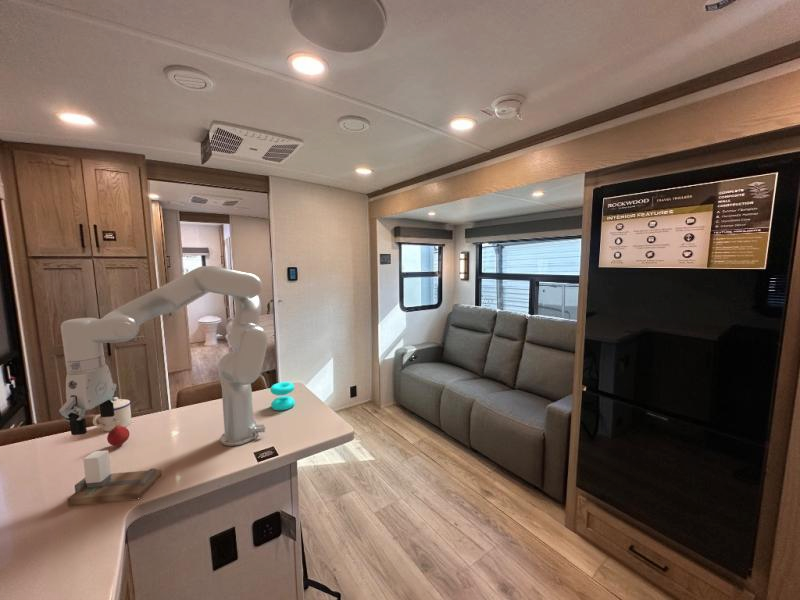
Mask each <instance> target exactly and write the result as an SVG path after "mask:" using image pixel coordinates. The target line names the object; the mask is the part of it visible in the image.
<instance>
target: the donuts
mask: <svg viewBox="0 0 800 600" xmlns="http://www.w3.org/2000/svg"><path fill="white" fill-rule="evenodd" d="M294 390H295V384H294V383H292V382H290V381H282V382H278V383H275V384H272V385H271V387H270V390H269V392H270V393H271V394H272V395H275V396H278V397H276V398H275V399H274V400H273V401H272V402H271V403H270V404H271V405H270V406H271V408H272V409H273V410H275V411H285V410H289V409H291V408H293V407H294V406H295V404H296V401H295V399H294V397H292V396H287V395H288V394H291V393H292V392H293V391H294Z"/></svg>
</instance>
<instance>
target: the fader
mask: <svg viewBox="0 0 800 600" xmlns="http://www.w3.org/2000/svg"><path fill="white" fill-rule="evenodd" d="M82 459H83V461H82V462H83V466H84V467H83V468H84V478H86V483H87V488H91V487H102V486H104V485H106V484H107V483H108V482H109V481H110V480H111V475H110V474H112V472H111V464H110V463H111V462H110V454H109V449H108V450H97V451H96V450H95V451H92V452H91V453H90V454H88V455H87V456H85V457H84V458H82Z"/></svg>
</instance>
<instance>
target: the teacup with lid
mask: <svg viewBox="0 0 800 600" xmlns="http://www.w3.org/2000/svg"><path fill="white" fill-rule="evenodd" d="M112 403H113V406H114V414H115V415H114V416H113V417H101V413H99V414H96V415H95V416H94V417H93V418H92V424H93V426H94V427H97V428H102V431H104V432H110V431H111V430H112V429H113V428H114V427H115V426H116V425H117V424H120V426H122V427H125V428H127V427H129V426H130V425H131V424H132V414H131V413H132V412H131V404H132V403H131V401H130V400H129V399H123V398H119V397H118V396H114V402H112ZM99 418H101V424H98V422H97V419H99ZM129 419H130V420H129ZM118 421H119V422H118ZM128 425H129V426H128ZM126 426H127V427H126Z"/></svg>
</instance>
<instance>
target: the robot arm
mask: <svg viewBox="0 0 800 600" xmlns="http://www.w3.org/2000/svg"><path fill="white" fill-rule="evenodd" d="M262 289H263V283H262V280H261V279H260V277H258V276H257V275H256V274H254V273H251V272H244V271H239V270H234V269H229V268H224V267H220V266H215V265H202V266H199V267H196V268H193V269H191V270H190V271H188V272H187V273H184V274H183V275H181V276H179V277H177V278H176V279H173V280H171V281H169V282H168V283H165V284H164V285H162V286H160V287H158V288H156V289H153V290H151V291H149V292H147V293H146V294H144V295H142V296H139V297H137V298H135V299H133V300H131V301H128V302H127V303H125V304H123V305H121V306H119V307H118V308H115V309H113V310H112V311H110V312H108V313H107V314H105V315H104V316H102V318H96V317H79V318H73V319H68V320H67V319H66V320H65V321H62V323H61V324H60V331H61V332H60V333H61V340H62V345H63V355H64V360H65V369H66V375H65V376H66V377H65V399H66V402H65V403H64V404H63V405H62V406H61V408H59V409H58V410H59V411H58V412H59V413H60V414H61V416H62V417H63V419H64V420H66V422H69V427H70V434H71V436H77V435H85V434H87V431H88V430H87V423H86V418H84V415H85V413H86V411H87V410H89V411H90V410H92V409H94V408H96V407H99V412H100V413H99V414H101V416H100V418H102V417H113V416H114V415H115V414H114V406H113V403H112V402H114V397H116V393H117V392H116V390H117V383H114V381H113V377H112V373H111V371H110V370H111V369H110V368H109V365H108V364H106V358H105V349H104V344H106V343H107V344H108V343H109V344H110V343H111V344H112V343H124V342H128V341H131V340H133V339H134V338H135V337H136V336H137V335H138V333H139V331H140V326H141V325H142V324H145V323H147V322H148V321H150V320H153V319H154V318H157V317H159V316H164V315H168V314H172V313H175V312H178V311H180V310H181V309H182V310H183V308H185V307H186V306H188V305H191V303H193V302H195V301H196V300H199V299H200V298H202V297H204V296H206V295H207V294H209V293H213V294H217V295H218V294H219V295H224V296H230V297H232V298H233V300H234V303H235V310H234V316H233V320H232V324H231V328H230V332H229V334H228V335H229V336H228V341H229V344H230V345H231V346H233V347H234V348H236V349H237V351H231V352H230V351H229V352H228V353H226V354H224V355H223V356H222V357H221V358H220V360H219V362H218V367H217V370H218V377H219V381H220V386H221V395H222V397H221V398H222V399H221V400H222V413H223V429H224V432H223V434H221V436H220V437H219V442H220V444H221V445H223V446H227V447H229V446H230V447H236V446H241V445H244V444H246V443H247V444H248V443H249V442H251V441H252V440H255V439H256V438H257V437H258V435H259V433H265V432H266V426H265V424H263V423H262V424H257V420H254V414H253V412H254V411H253V399H252V398H253V393H252V385H251V384H252V383H254V382H255V381H256V380H257V379H258V378H259V377H260V374H261V373H262V369H263V365H264V361H265V358H266V357H265V356H266V352H267V349H268V342H269V340H268V339H269V337H268V335H267V332H266V330H265V329H264V328H263V327H261V326H260V325H259V324H260V318H261V313H262V303H261V299H260V296H259V295H260V293H261V292H262ZM77 412H78V414H77Z"/></svg>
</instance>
